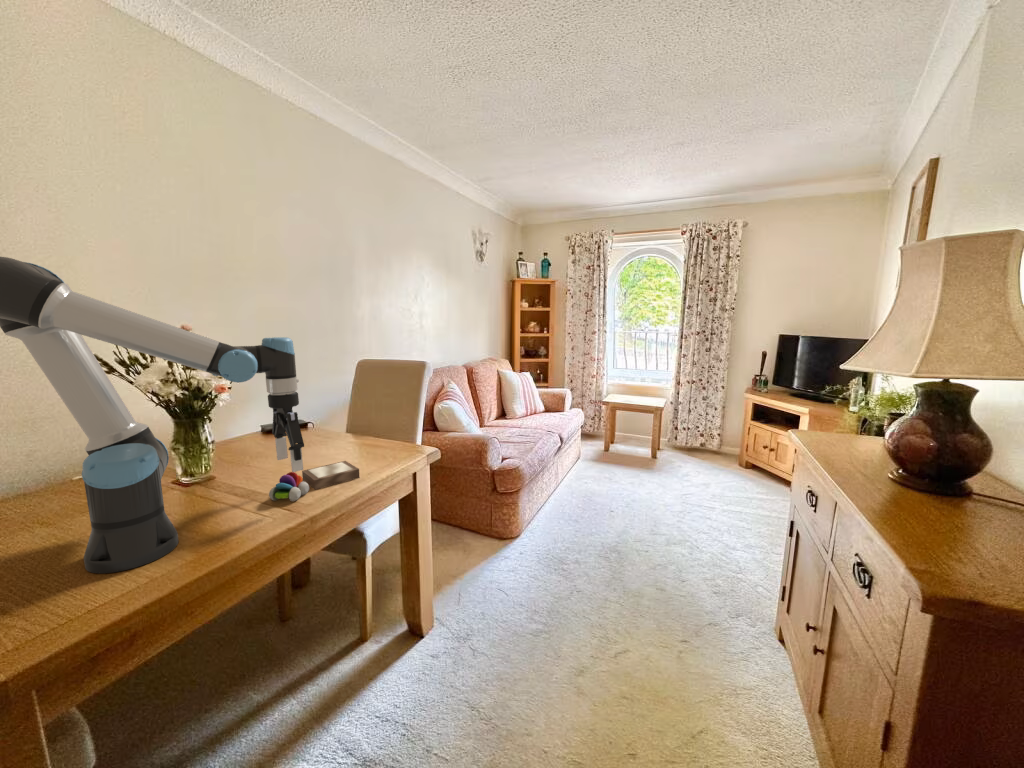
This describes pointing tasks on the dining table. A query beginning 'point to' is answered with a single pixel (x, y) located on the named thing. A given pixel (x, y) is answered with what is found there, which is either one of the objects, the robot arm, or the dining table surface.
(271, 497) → the rainbow pebble stack
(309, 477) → the plinth
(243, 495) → the dining table surface
